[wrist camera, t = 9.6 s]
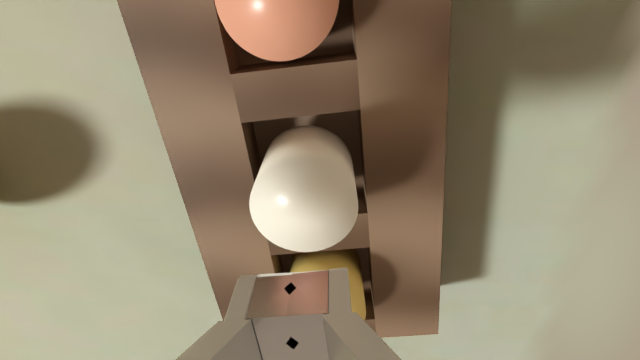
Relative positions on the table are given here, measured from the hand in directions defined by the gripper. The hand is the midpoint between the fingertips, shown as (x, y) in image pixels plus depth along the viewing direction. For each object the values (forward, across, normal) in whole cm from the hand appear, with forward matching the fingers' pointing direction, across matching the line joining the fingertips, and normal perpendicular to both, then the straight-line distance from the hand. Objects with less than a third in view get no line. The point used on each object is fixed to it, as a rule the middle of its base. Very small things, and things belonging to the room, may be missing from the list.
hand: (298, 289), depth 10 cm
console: (+10, 0, 0) cm, 11 cm away
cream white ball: (+7, 0, 0) cm, 7 cm away
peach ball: (+9, 0, -7) cm, 11 cm away
